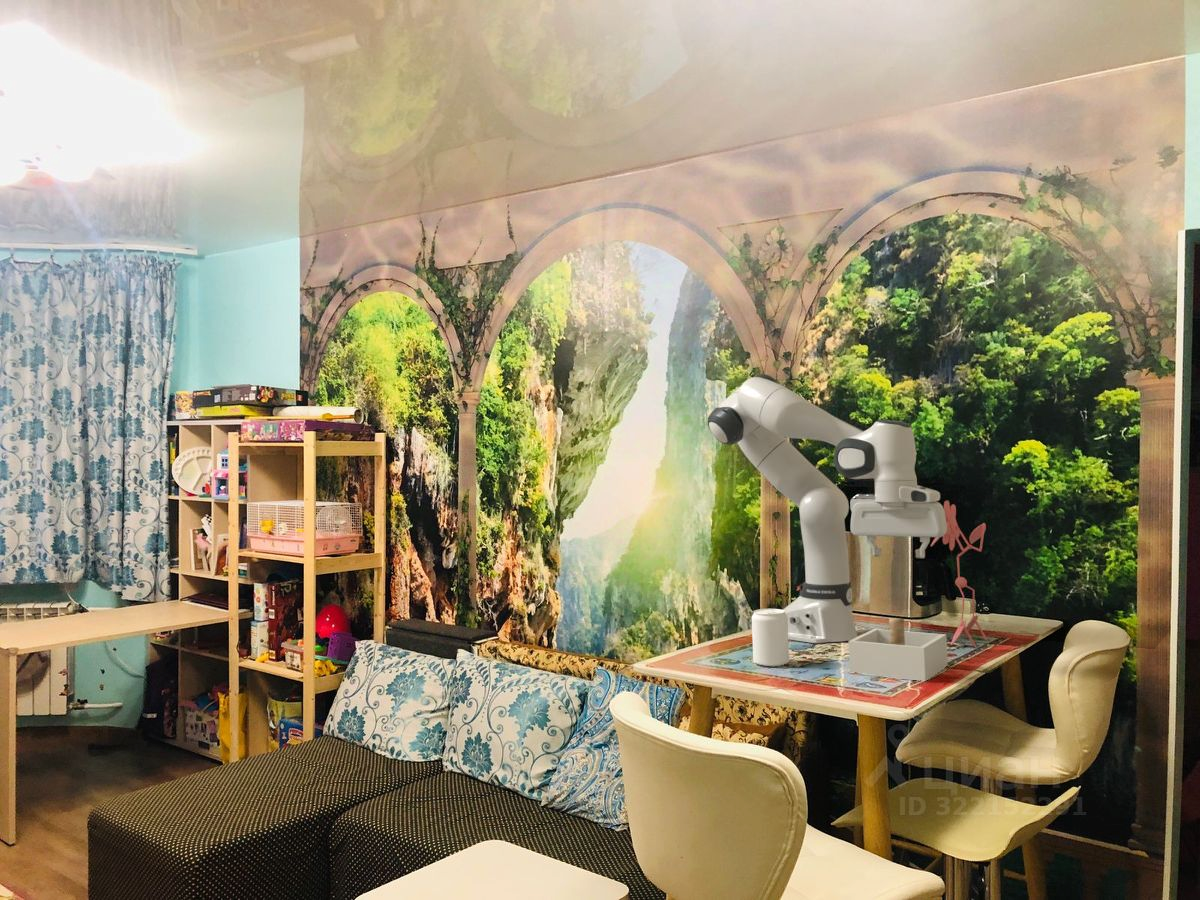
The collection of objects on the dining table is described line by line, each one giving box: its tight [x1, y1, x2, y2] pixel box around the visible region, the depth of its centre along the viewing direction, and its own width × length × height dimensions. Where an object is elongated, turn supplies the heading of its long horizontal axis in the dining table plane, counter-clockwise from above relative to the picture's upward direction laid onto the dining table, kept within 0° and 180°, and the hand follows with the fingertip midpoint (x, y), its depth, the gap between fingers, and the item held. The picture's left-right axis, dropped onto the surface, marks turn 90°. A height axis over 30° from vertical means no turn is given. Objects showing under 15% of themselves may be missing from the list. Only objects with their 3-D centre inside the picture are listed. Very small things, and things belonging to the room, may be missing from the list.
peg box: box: [848, 628, 948, 682], centre depth 197 cm, size 16×16×7 cm
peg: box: [888, 617, 905, 645], centre depth 197 cm, size 3×3×10 cm
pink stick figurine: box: [930, 500, 997, 648], centre depth 225 cm, size 15×26×35 cm, turn 141°
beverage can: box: [751, 608, 790, 667], centre depth 207 cm, size 8×8×12 cm
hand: (898, 557), depth 198 cm, fingers open, 8 cm apart
